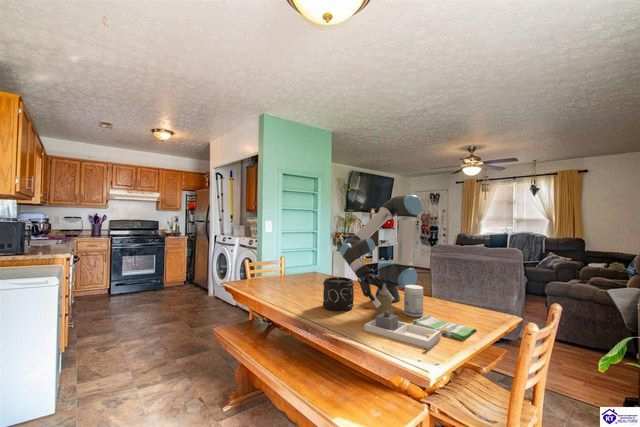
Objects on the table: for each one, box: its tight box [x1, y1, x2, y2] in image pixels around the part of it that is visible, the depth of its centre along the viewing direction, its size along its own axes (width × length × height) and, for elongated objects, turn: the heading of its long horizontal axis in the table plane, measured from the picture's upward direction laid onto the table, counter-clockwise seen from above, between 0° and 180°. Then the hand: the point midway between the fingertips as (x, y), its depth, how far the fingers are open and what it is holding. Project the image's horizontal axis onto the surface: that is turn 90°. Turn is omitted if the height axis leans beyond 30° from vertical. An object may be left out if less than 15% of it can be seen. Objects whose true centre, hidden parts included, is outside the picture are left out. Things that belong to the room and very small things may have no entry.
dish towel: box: [412, 315, 477, 342], centre depth 136 cm, size 17×23×4 cm
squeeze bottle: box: [375, 284, 394, 316], centre depth 147 cm, size 8×8×18 cm
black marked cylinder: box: [322, 276, 355, 313], centre depth 169 cm, size 18×18×16 cm
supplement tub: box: [403, 284, 424, 318], centre depth 157 cm, size 10×10×15 cm
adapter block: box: [375, 311, 399, 331], centre depth 132 cm, size 7×7×8 cm
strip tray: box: [363, 318, 441, 351], centre depth 127 cm, size 14×28×4 cm, turn 50°
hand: (386, 303), depth 146 cm, fingers open, 13 cm apart
